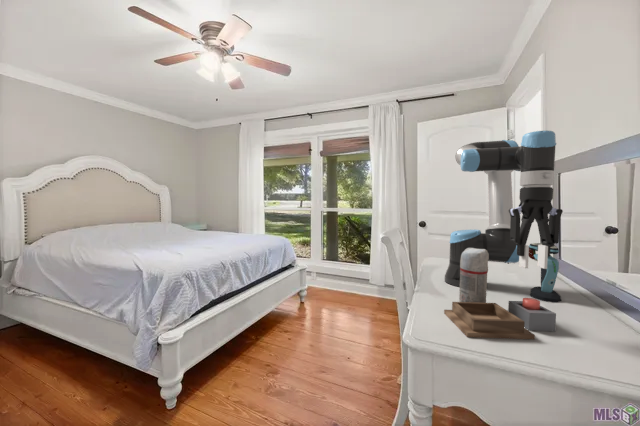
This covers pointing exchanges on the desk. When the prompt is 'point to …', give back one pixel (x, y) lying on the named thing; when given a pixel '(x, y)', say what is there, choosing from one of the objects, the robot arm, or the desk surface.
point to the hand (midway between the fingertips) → (532, 267)
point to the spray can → (473, 275)
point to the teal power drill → (546, 276)
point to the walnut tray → (487, 321)
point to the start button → (531, 304)
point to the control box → (534, 317)
